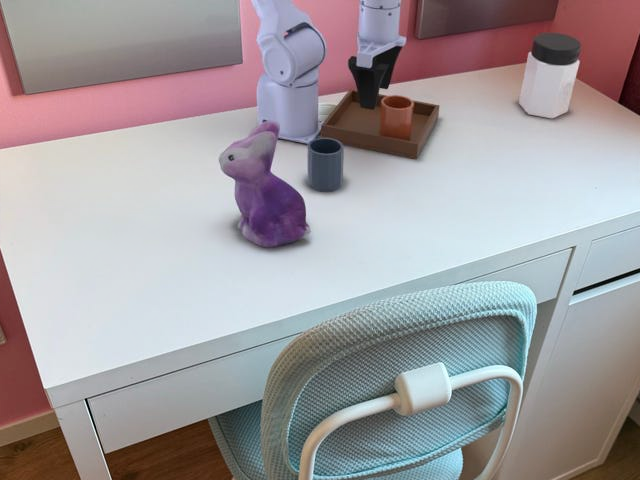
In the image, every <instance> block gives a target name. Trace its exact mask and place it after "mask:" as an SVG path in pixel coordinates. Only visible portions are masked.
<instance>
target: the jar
mask: <svg viewBox="0 0 640 480" xmlns="http://www.w3.org/2000/svg"><path fill="white" fill-rule="evenodd" d="M581 48H582V43H581V42H580V40H578V39H577V38H575V37H573V36H572V35H568V34H564V33H558V32H543V33H539V34H536V35H535V36H534V38H533V42H532V47H531V51H529V52H528V53H527V59H526V64H525V68H524V75H523V79H522V84H521V89H520V95H519V99H518V104H519V105H520V106H521V108H522V109H523V110H524V111H525V113H526V114H527V115H530V116H535V117H541V118H546V119H551V120H552V119H555V118H557V117H559V116H562V115H564V114H566V113H567V112H568V111H569V106H570V103H571V98H572V94H573V91H574V86H575V83H576V78H577V74H578V70H579V67H580V62H581V61H580V60H579V56H580V53H581Z"/></svg>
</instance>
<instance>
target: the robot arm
mask: <svg viewBox="0 0 640 480" xmlns="http://www.w3.org/2000/svg"><path fill="white" fill-rule="evenodd" d="M250 2H251V4H252V6H253V9H254V10H255V12H256V14H257V17H258V18H259V20H260V25H259V29H258V32H257V36H256V43H257V46H258V47H259V51H260V54H261V63H262V66H263V69H264V71H263V72H262V73H261V74H260V76H259V78H258V81H257V86H256V106H257V107H256V108H257V126H259V125H260V124H262V123H263V122H266V121H273V122H277V123H279V125H280V130H279V135H278V139H282V140H287V141H292V142H298V143H301V144H306V145H307V144H308V143H309V142H310V141H311V140H314V139H316V138H318V136H319V135H320V134H321V125H322V124H323V123H324V121H325V120H322V119H319V74H320V65H322V64H323V63H324V61H325V60H326V58H327V55H328V47H327V42H326V40H325V37H324V35H323V34H322V33H321V31H320V30H319V29H317V27H316V26H315V25H314V24H313V22H312V20H311V18H310V15H309V14H308V13H307V12H305V11H304V10H302V9H300V8H298V7H297V6H295V5H294V2H293V0H250ZM401 6H402V0H359V7H358V9H359V11H358V31H357V33H356V42H357V43H356V44H357V49H358V50H357V51H356V56H355V55H351V56H349V58H348V60H347V68H348V70H349V71H350V73H351V75H352V77H353V80H354V82H355V87H356V90H357V92H358V97H359V103H360V106H361V108H365V109H371V110H374V109H375V106H376V103H377V100H378V95H379V94H380V89H382V90H388V89H389V88H390V86H391V85H390V84H391V81H392V77H393V74H394V70H395V66H396V63H397V61H398V58H399V55H400V53H401V51H402V49H403V48H404V46H405V45H406V43H407V37H406V36H402V35H400V32H399V31H400V22H401V21H400V19H401V8H402V7H401ZM285 33H287V34H286V35H285Z"/></svg>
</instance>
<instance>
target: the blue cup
mask: <svg viewBox="0 0 640 480" xmlns="http://www.w3.org/2000/svg"><path fill="white" fill-rule="evenodd" d="M344 154H345V147H344V145H343V144H342V143H341V142H340V141H338V140H336V139H333V138H321V137H316V138H315V139H314V140H311V141H310V142H309V143H308V144H306V155H307V156H306V157H307V159H306V160H307V163H306V165H307V167H306V168H307V185H308V186H309V187H310V188H311V189H313V190H314V191H317V192H323V193H330V192H331V193H332V192H335V191H338V190H340V188H342V186H343V182H344V160H345V159H344V157H345V155H344Z"/></svg>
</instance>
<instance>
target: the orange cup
mask: <svg viewBox="0 0 640 480" xmlns="http://www.w3.org/2000/svg"><path fill="white" fill-rule="evenodd" d="M413 111H414V102H413V99H411V98H410V97H408V96H405V95H398V94H393V95H387V97H384V98H383V99H382V100H381V108H380V124H379V135H382V136H387V137H392V138H397V139H402V140H407V141H410V138H411V131H412V121H413Z"/></svg>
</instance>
